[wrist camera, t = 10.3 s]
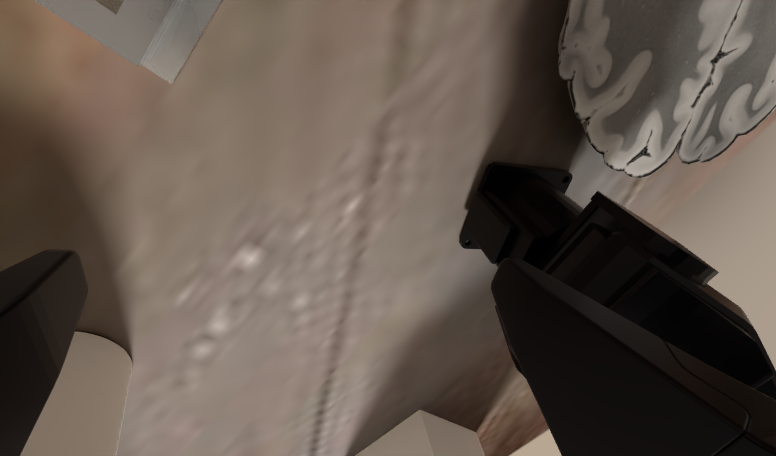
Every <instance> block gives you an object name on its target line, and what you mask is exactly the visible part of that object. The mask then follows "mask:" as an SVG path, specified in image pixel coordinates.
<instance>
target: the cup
mask: <svg viewBox="0 0 776 456" xmlns="http://www.w3.org/2000/svg"><path fill="white" fill-rule="evenodd" d="M131 371H132V361H131V358H130V357H129V355H128V354H127V352H126V351H125V350H124V349H123V348H122V347H120V346H119V345H117V344H116V343H114V342H112V341H110V340H108V339H106V338H103V337H100V336H97V335H93V334H89V333H84V332H75V333H74V336H73V339H72V341H71V344H70V347H69V350H68V353H67V356H66V359H65V362H64V364H63V367H62V370H61V372H60V375H59V377H58V379H57V381H56V383H55V386H54V388H53V390H52V392H51V394H50V396H49V398H48V400H47V402H46V404H45V406H44V408H43V410H42V412H41V414H40V416H39V418H38V420H37V422H36V424H35V426H34V428H33V430H32V432H31V434H30V436H29V439H28V441H27V443H26V445H25V447H24V449H23V451H22V453H21V455H20V456H116V454H117V448H118V443H119V437H120V432H121V426H122V421H123V415H124V410H125V404H126V399H127V393H128V388H129V382H130V377H131Z"/></svg>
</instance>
